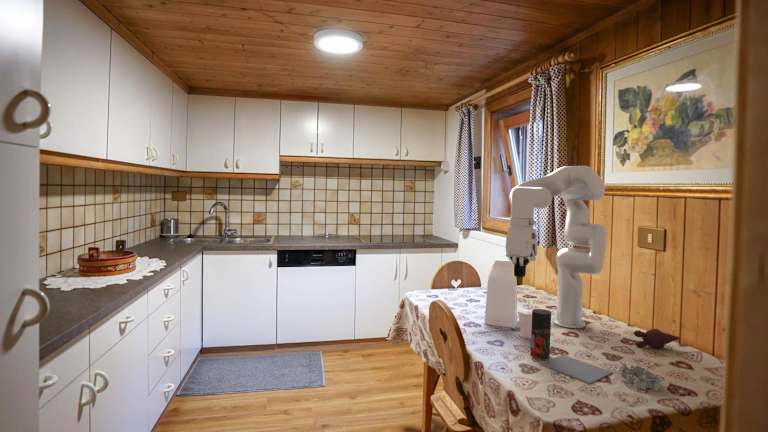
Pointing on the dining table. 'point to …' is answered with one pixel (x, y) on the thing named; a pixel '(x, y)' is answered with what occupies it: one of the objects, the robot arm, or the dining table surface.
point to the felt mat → (576, 369)
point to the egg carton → (641, 377)
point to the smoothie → (525, 322)
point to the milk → (501, 295)
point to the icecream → (654, 338)
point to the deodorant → (540, 334)
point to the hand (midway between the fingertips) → (519, 276)
